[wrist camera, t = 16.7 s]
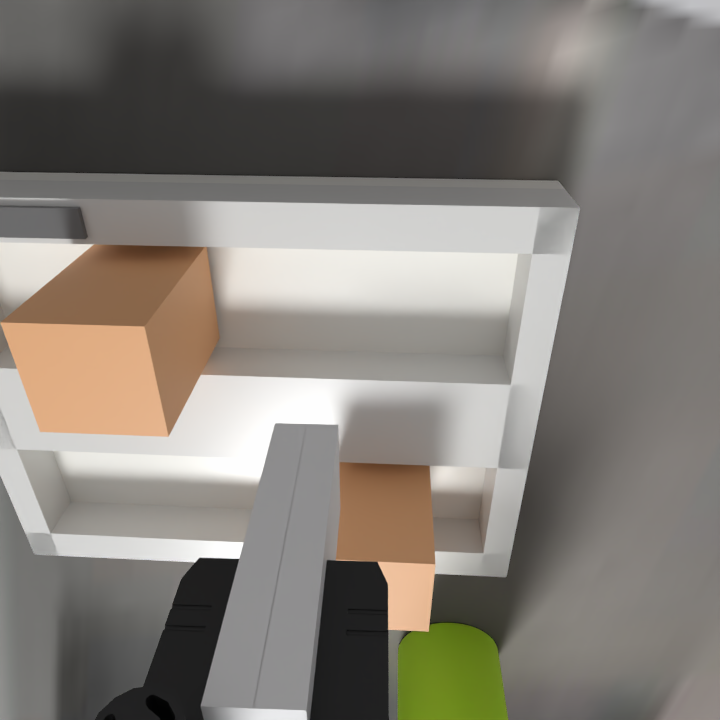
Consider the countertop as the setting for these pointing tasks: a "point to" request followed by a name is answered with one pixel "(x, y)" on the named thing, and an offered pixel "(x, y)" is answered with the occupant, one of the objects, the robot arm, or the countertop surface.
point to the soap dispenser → (450, 675)
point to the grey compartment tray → (301, 350)
